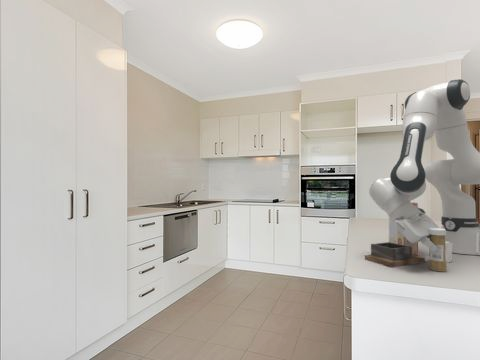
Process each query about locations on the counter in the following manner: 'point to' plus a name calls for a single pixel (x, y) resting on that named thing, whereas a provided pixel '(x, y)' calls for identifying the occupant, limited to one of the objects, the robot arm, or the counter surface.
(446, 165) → the robot arm
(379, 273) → the counter surface
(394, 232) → the cracker box
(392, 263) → the stand
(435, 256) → the sprinkles bottle
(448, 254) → the white cup
